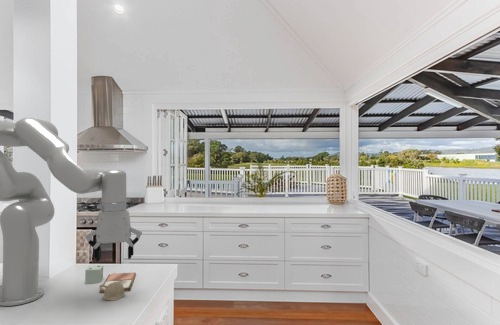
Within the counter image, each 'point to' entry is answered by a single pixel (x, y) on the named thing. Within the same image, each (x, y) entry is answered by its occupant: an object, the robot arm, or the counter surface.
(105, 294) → the decorative ornament
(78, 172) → the robot arm
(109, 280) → the brown framed panel
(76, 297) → the counter surface
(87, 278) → the die
